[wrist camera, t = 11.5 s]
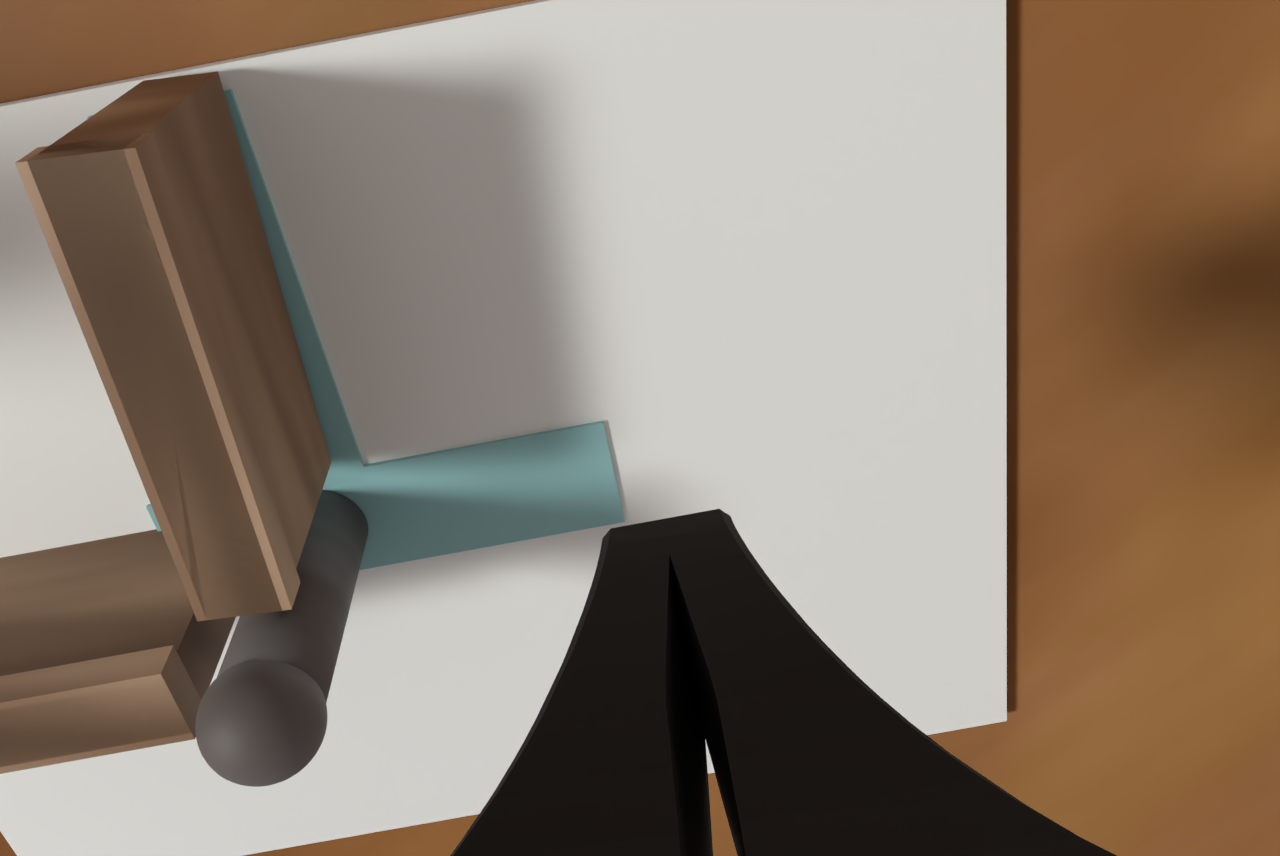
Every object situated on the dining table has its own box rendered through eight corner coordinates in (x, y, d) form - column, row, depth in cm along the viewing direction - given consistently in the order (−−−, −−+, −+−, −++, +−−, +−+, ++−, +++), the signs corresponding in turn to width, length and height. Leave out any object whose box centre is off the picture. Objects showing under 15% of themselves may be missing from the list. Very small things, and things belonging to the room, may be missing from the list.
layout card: (1002, 711, 27) (1008, 723, 26) (46, 880, 27) (40, 894, 27) (999, -90, 18) (1008, -88, 17) (-427, 186, 18) (-446, 193, 18)
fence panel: (227, 70, 18) (135, 147, 14) (339, 460, 21) (291, 608, 17) (133, 81, 18) (14, 162, 14) (262, 470, 21) (197, 621, 17)
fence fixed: (386, 554, 23) (332, 802, 17) (-81, 639, 23) (-285, 911, 17) (357, 474, 22) (290, 710, 16) (-130, 564, 22) (-363, 826, 16)
